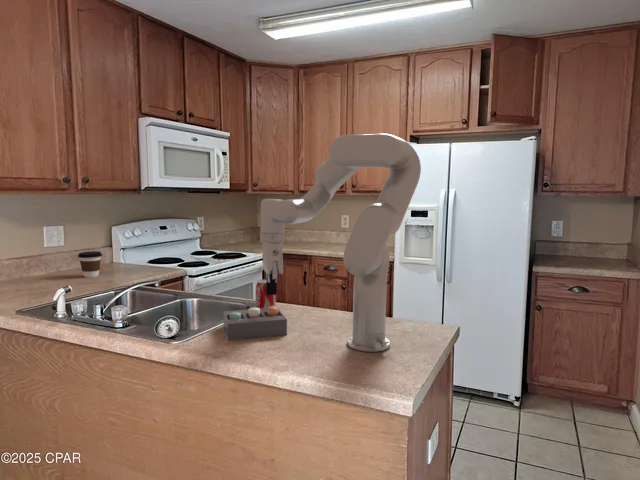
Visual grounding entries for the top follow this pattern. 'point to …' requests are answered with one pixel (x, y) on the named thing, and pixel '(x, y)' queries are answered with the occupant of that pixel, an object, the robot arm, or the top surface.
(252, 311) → the cream button
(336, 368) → the top surface
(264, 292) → the soda can
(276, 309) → the terracotta button
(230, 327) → the grey slotted tray
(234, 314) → the teal button
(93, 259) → the coffee cup
